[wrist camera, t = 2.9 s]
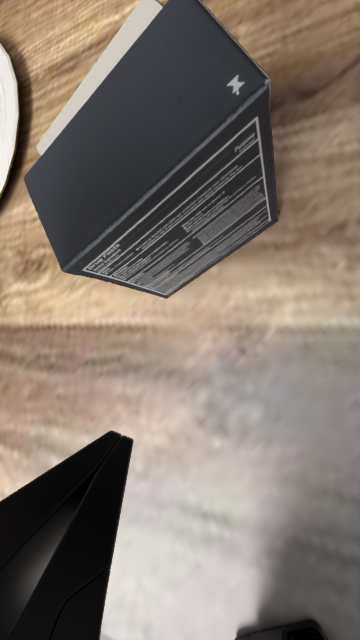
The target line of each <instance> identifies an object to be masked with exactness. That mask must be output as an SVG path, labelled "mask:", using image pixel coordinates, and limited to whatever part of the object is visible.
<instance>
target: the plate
mask: <svg viewBox="0 0 360 640" xmlns="http://www.w3.org/2000/svg"><path fill="white" fill-rule="evenodd" d="M19 122H20V104H19V87H18V81H17V77H16V74H15V70H14V67H13V64H12V60H11V57H10V56H9V55H8V53H7V52H6V50H5V49H4V48H3V46H2V45H1V43H0V198H1V196H2V194H3V191H4V189H5V187H6V185H7V182H8V178H9V175H10V171H11V167H12V164H13V160H14V157H15V153H16V148H17V139H18V131H19Z"/></svg>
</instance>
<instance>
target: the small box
mask: <svg viewBox="0 0 360 640" xmlns="http://www.w3.org/2000/svg"><path fill="white" fill-rule="evenodd" d="M270 103H271V78H270V76H269V75H268V74H267V73H266V72H265V71H264V70H263V69H262V68H261V67H260V66H259V65H258V64H257V63H256V62H255V61H254V60H253V59H252V58H251V56H250V55H249V54H248V53H247V51H246V50H245V49H244V48H243V47H242V46H241V45H240V44H239V42H238V41H237V40H236V39H235V38H234V37H233V36H232V35H231V34H230V33H229V32H228V31H227V29H226V28H225V27H224V26H223V25H222V24H221V22H220V21H219V20H218V19H217V18H216V17H215V16H214V15H213V14H212V13H211V11H210V10H209V9H208V8H207V7H206V6H205V5H204V4H203V2H202V1H201V0H168V2H167V3H166V4H165V5H164V7H163V8H162V9H161V10H160V12H159V13H158V14H157V15H156V16H155V18H154V19H153V20H152V21H151V23H150V24H149V25H148V26H147V28H146V29H145V30H144V31H143V32H142V34H141V35H140V36H139V37H138V39H137V40H136V41H135V42H134V43H133V45H132V46H131V47H130V48H129V50H128V51H127V52H126V53H125V54H124V56H123V57H122V58H121V59H120V61H119V62H118V63H117V64H116V65H115V67H114V68H113V69H112V70H111V72H110V73H109V74H108V75H107V76H106V78H105V79H104V80H103V81H102V83H101V84H100V85H99V86H98V87H97V89H96V90H95V91H94V92H93V94H92V95H91V96H90V97H89V99H88V100H87V101H86V102H85V104H84V105H83V106H82V107H81V108H80V109H79V111H78V112H77V113H76V114H75V115H74V117H73V118H72V119H71V120H70V122H69V123H68V124H67V125H66V127H65V128H64V129H63V130H62V131H61V133H60V134H59V135H58V136H57V137H56V139H55V140H54V141H53V142H52V144H51V145H50V146H49V147H48V148H47V150H46V151H45V152H44V153H43V155H42V156H41V157H40V158H39V159H38V161H37V162H36V163H35V164H34V165H33V167H32V168H31V169H30V170H29V171H28V173H27V174H26V175H25V176H24V181H25V184H26V187H27V190H28V192H29V195H30V197H31V199H32V202H33V204H34V206H35V209H36V211H37V213H38V216H39V219H40V221H41V223H42V225H43V227H44V230H45V232H46V235H47V237H48V239H49V242H50V244H51V246H52V249H53V251H54V253H55V255H56V258H57V260H58V262H59V265H60V268H61V270H62V271H63V272H66V273H69V274H73V275H82V276H85V277H90V278H95V279H99V280H103V281H105V282H111V283H113V284H117V285H120V286H124V287H128V288H131V289H135V290H139V291H142V292H146V293H150V294H153V295H157V296H160V297H163V298H168V297H170V296H171V295H172V294H174V293H175V292H177V291H178V290H180V289H181V288H183V287H184V286H186V285H187V284H188V283H190V282H191V281H193V280H194V279H196V278H197V277H199V276H200V275H201V274H203V273H204V272H206V271H207V270H209V269H210V268H211V267H213V266H214V265H216V264H217V263H219V262H220V261H222V260H223V259H224V258H226V257H227V256H229V255H230V254H232V253H233V252H234V251H236V250H237V249H239V248H240V247H242V246H243V245H244V244H246V243H247V242H249V241H250V240H252V239H253V238H255V237H256V236H257V235H259V234H260V233H261V232H263V231H264V230H266V229H267V228H268V227H270V226H271V225H273V224H274V223H276V222H277V221H278V218H279V210H277V197H276V180H275V168H274V155H273V141H272V129H271V114H270Z"/></svg>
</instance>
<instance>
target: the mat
mask: <svg viewBox="0 0 360 640" xmlns="http://www.w3.org/2000/svg"><path fill="white" fill-rule="evenodd" d="M162 8H163V7H162V6H161V5H160V4H159V3H158V2H157V1H156V0H140V2H139V3H138V5H137V6H136V7H135V9H134V10H133V12H132V13H131V14H130V16H129V17H128V19H127V20H126V21H125V23H124V24H123V26H122V27H121V28H120V30H119V31H118V33H117V34H116V35H115V37H114V38H113V40H112V41H111V42H110V44H109V45H108V47H107V48H106V49H105V51H104V52H103V54H102V55H101V56H100V58H99V59H98V61H97V62H96V63H95V65H94V66H93V68H92V69H91V70H90V72H89V73H88V75H87V76H86V77H85V79H84V80H83V82H82V83H81V84H80V86H79V87H78V89H77V90H76V91H75V93H74V94H73V96H72V97H71V98H70V100H69V101H68V103H67V104H66V105H65V107H64V108H63V110H62V111H61V112H60V114H59V115H58V117H57V118H56V119H55V121H54V122H53V124H52V125H51V126H50V128H49V129H48V131H47V132H46V133H45V135H44V136H43V138H42V139H41V140H40V142H39V143H38V145H37V146H36V148H37V149H38V151H39V153H40V154H41V156H42V155H43V153H44V152H45V151H46V150H47V148H48V147H49V146H50V145H51V144H52V142H53V141H54V140H55V139H56V137H57V136H58V135H59V134H60V133H61V131H62V130H63V129H64V128H65V127H66V125H67V124H68V123H69V122H70V120H71V119H72V118H73V117H74V115H75V114H76V113H77V112H78V111H79V109H80V108H81V107H82V106H83V105H84V104H85V102H86V101H87V100H88V99H89V97H90V96H91V95H92V94H93V92H94V91H95V90H96V89H97V87H98V86H99V85H100V84H101V83H102V81H103V80H104V79H105V78H106V76H107V75H108V74H109V73H110V72H111V70H112V69H113V68H114V67H115V65H116V64H117V63H118V62H119V61H120V59H121V58H122V57H123V56H124V54H125V53H126V52H127V51H128V50H129V48H130V47H131V46H132V45H133V43H134V42H135V41H136V40H137V39H138V37H139V36H140V35H141V34H142V32H143V31H144V30H145V29H146V28H147V26H148V25H149V24H150V23H151V21H152V20H153V19H154V18H155V16H156V15H157V14H158V13H159V12H160V10H161V9H162Z"/></svg>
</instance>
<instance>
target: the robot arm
mask: <svg viewBox="0 0 360 640" xmlns="http://www.w3.org/2000/svg"><path fill="white" fill-rule="evenodd" d="M132 447H133V439H132V438H129V437H127V436H122V435H121V434H120V433H117V432H115V431H109V432H107V433H106V434H104V435H103V436H101V437H100V438H98V439H97V440H95V441H93V442H92V443H90V444H89V445H87V446H86V447H84V448H83V449H81V450H79V451H78V452H76V453H75V454H73V455H72V456H70V457H69V458H67V459H65V460H64V461H62V462H61V463H59V464H58V465H56V466H55V467H53V468H51V469H50V470H48V471H47V472H45V473H44V474H42V475H41V476H39V477H37V478H36V479H34V480H33V481H31V482H30V483H28V484H27V485H25V486H23V487H22V488H20V489H19V490H17V491H16V492H14V493H13V494H11V495H9V496H8V497H6V498H5V499H3V500H2V501H0V640H100V633H101V625H102V619H103V612H104V606H105V599H106V593H107V587H108V581H109V576H110V569H111V564H112V558H113V553H114V547H115V541H116V536H117V530H118V525H119V519H120V514H121V508H122V502H123V497H124V491H125V486H126V480H127V474H128V469H129V463H130V458H131V452H132ZM311 631H313V632H315V633H313V632H311ZM235 640H328V638H327V637H326V635H325V634H324V632H323V630H322V629H321V627H320V626H319V624H318V623H316V622H315V621H313V620H305V621H301V622H297V623H293V624H289V625H284V626H280V627H276V628H272V629H268V630H264V631H260V632H255V633H251V634H247V635H243V636H239V637H236V638H235Z"/></svg>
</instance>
